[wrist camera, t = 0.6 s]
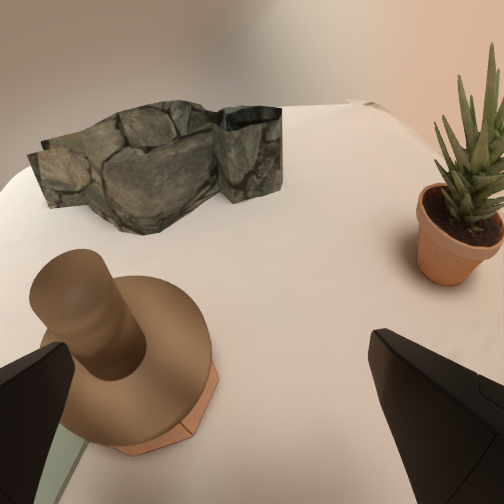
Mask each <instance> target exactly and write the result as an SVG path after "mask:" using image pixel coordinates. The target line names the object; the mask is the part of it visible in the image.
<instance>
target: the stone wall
mask: <svg viewBox="0 0 504 504" xmlns="http://www.w3.org/2000/svg"><path fill="white" fill-rule="evenodd" d="M41 145H42V147H43V150H44V151H40V152H36V153H33V154H29V155H27V157H28V159H29V162H30V164H31V167H32V169H33V172H34V174H35V176H36V179H37V181H38V183H39V186H40V188H41V190H42V192H43V195H44V197H45V199H46V201H47V203H48V205H49V207H50V209H53V208H61V207H70V206H80V205H89V206H90V208H91V209H92V210H93V211H94V212H95V213H96V214H98V215H99V216H100V217H102V218H103V219H105V220H106V221H108V222H110V223H112V224H113V225H114V226H115V227H116V228H117V229H118V230H119V231H121V232H127V233H132V234H138V235H149V234H154V233H160V232H161V231H163V230H164V229H166V228H167V227H169V226H170V225H172V224H174V223H175V222H177V221H178V220H180V219H181V218H183V217H184V216H186V215H188V214H189V213H191V212H192V211H193V210H195V209H196V208H197V207H198V206H200V205H201V204H202V203H204V202H205V201H206V200H208V199H210V198H211V197H213V196H214V195H216V194H217V193H219V192H221V193H222V194H224V195H225V196H226V197H227V198H228V199H229V200H230V201H231V202H232V203H233V204H235V203H239V202H241V201H242V200H244V199H249V198H255V197H261V196H265V195H268V194H271V193H273V192H276V191H279V190H280V189H281V185H282V182H283V165H282V108H276V107H267V106H237V107H227V108H223V109H222V110H220V111H218V112H212V111H207V110H205V109H204V108H203V106H202V105H200V104H196V103H192V102H187V101H182V100H176V101H165V102H158V103H154V104H149V105H145V106H140V107H136V108H132V109H129V110H125V111H121V112H117V113H115V114H113V115H111V116H109V117H108V118H106V119H104V120H102V121H100V122H98V123H96V124H95V125H93V126H91V127H89V128H87V129H85V130H82V131H80V132H76V133H72V134H68V135H64V136H60V137H56V138H52V139H48V140H44V141H41Z"/></svg>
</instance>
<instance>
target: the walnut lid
mask: <svg viewBox="0 0 504 504" xmlns="http://www.w3.org/2000/svg"><path fill="white" fill-rule="evenodd" d="M29 301H30V305H31V308H32V310H33V311H34V312H35V314H36V315H37V316H38V317H39V318H40V320H41V321H42V322H43V323H44V324H45V326H46V327H47V330H46V332H45V335H44V337H43V339H42V342H41V345H40V348H42V347H44V346H46V345H48V344H50V343H52V342H54V341H58V342H65V343H66V344H67V345H68V348H69V350H70V353H71V355H72V358H73V360H74V363H75V373H74V376H73V380H72V383H71V387H70V390H69V394H68V397H67V401H66V405H65V408H64V411H63V414H62V417H61V420H60V422H59V423H60V424H61V425H62V426H64V427H65V428H66V429H67V430H69V431H71V432H72V433H74V434H76V435H78V436H79V437H81V438H83V439H85V440H88V441H90V442H93V443H95V444H100V445H104V446H113V447H125V446H134V445H138V444H142V443H146V442H148V441H151V440H153V439H156V438H158V437H160V436H162V435H163V434H165V433H167V432H168V431H170V430H171V429H173V428H174V427H175V426H176V425H178V424H179V423H180V422H181V421H182V420H183V419H184V418H185V417H186V416H187V415H188V414H189V413H190V412H191V410H192V409H193V408H194V406H195V405H196V404H197V402H198V400H199V399H200V397H201V395H202V393H203V391H204V389H205V386H206V384H207V381H208V378H209V374H210V369H211V362H212V346H211V340H210V335H209V331H208V328H207V325H206V322H205V320H204V317H203V315H202V313H201V311H200V310H199V308H198V306H197V305H196V304H195V302H194V301H193V300H192V298H190V297H189V296H188V295H187V294H186V293H185V292H184V291H182V290H181V289H180V288H178V287H177V286H175V285H173V284H171V283H169V282H167V281H164V280H161V279H158V278H153V277H148V276H124V277H117V278H112V276H111V274H110V272H109V270H108V268H107V266H106V264H105V262H104V260H103V258H102V257H101V256H100V255H99V254H98V253H96V252H95V251H92V250H88V249H76V250H71V251H68V252H65V253H63V254H61V255H59V256H57V257H55V258H54V259H52V260H51V261H50V262H49V263H47V264H46V265H45V266H44V267H43V268H42V269H41V271H40V272H39V273H38V274H37V276H36V278H35V279H34V281H33V283H32V286H31V289H30V295H29Z"/></svg>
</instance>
